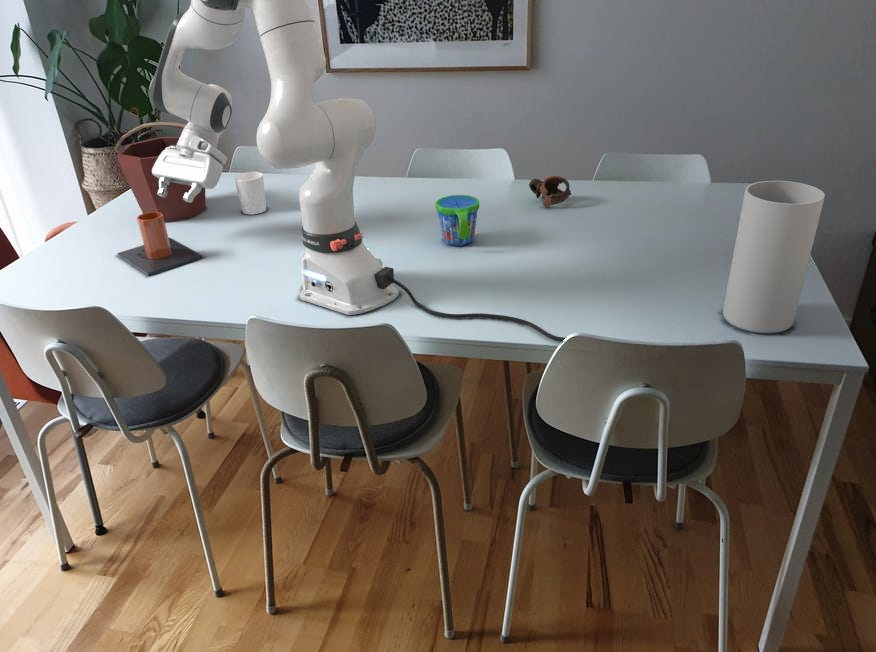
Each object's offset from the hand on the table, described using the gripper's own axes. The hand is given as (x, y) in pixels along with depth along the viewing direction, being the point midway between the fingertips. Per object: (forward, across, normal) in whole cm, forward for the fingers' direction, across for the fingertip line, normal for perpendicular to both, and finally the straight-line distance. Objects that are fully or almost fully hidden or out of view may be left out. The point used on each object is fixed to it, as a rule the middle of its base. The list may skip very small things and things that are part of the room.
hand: (173, 198), depth 181 cm
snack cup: (-14, +61, +33) cm, 71 cm away
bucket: (-3, -23, +21) cm, 31 cm away
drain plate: (+14, 0, +3) cm, 15 cm away
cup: (+14, 0, +3) cm, 14 cm away
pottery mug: (-39, +70, +58) cm, 99 cm away
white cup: (-11, -2, +29) cm, 31 cm away
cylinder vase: (-8, +133, +26) cm, 135 cm away
